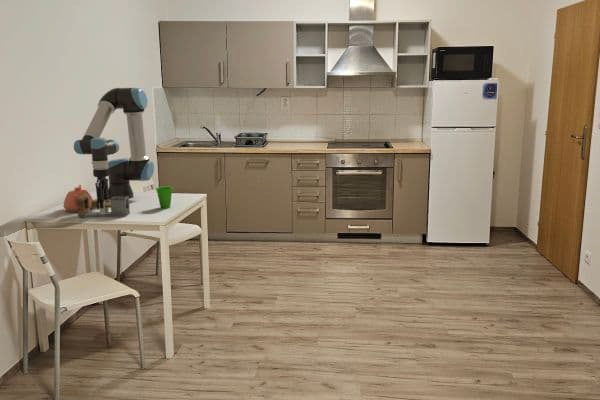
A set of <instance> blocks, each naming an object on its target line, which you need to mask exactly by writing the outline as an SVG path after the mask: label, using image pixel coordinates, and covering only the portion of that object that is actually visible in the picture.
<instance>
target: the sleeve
mask: <svg viewBox="0 0 600 400" xmlns="http://www.w3.org/2000/svg"><path fill="white" fill-rule="evenodd" d="M109 200H110V202H111V208H110V212H111V215H126V217H127V216H129V215H130V214H131V210H130V198H129V196H114V197H112V198H111V199H109ZM127 214H128V215H127Z"/></svg>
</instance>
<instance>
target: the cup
mask: <svg viewBox="0 0 600 400" xmlns="http://www.w3.org/2000/svg"><path fill="white" fill-rule="evenodd" d="M173 188H174V187H173V186H158V187H156V188H155V190H156V193H157V197H158V200H159V202H158V203H159V205H160V206H159V207H160V209H165V210H166V209H170V208H171V203H172V195H173V194H172V193H173Z"/></svg>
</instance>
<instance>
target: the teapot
mask: <svg viewBox="0 0 600 400" xmlns="http://www.w3.org/2000/svg"><path fill="white" fill-rule="evenodd" d="M73 189H74V190H69V191H68V192H67V194H66V195H65V198H64V201H63V209H64V210H65V211H67V212H72V213H75V212H77V213H78V205H77V198H78V197H80V196H82V195H88V197H89V209H90V210H91V209H93V208H92V200H94V199H93V197H92V196H91V194H90V193H89V191H88V190H87V189H83V188H82V185H81V184H78V186H76V187H73Z"/></svg>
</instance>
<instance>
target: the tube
mask: <svg viewBox="0 0 600 400" xmlns="http://www.w3.org/2000/svg"><path fill="white" fill-rule="evenodd" d="M104 202H105V208H108V209H109V208H110V209H111V202H110V199H107V200H104ZM91 209H97V210H100V208H99V202H97V199H93V200H92V208H91Z"/></svg>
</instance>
